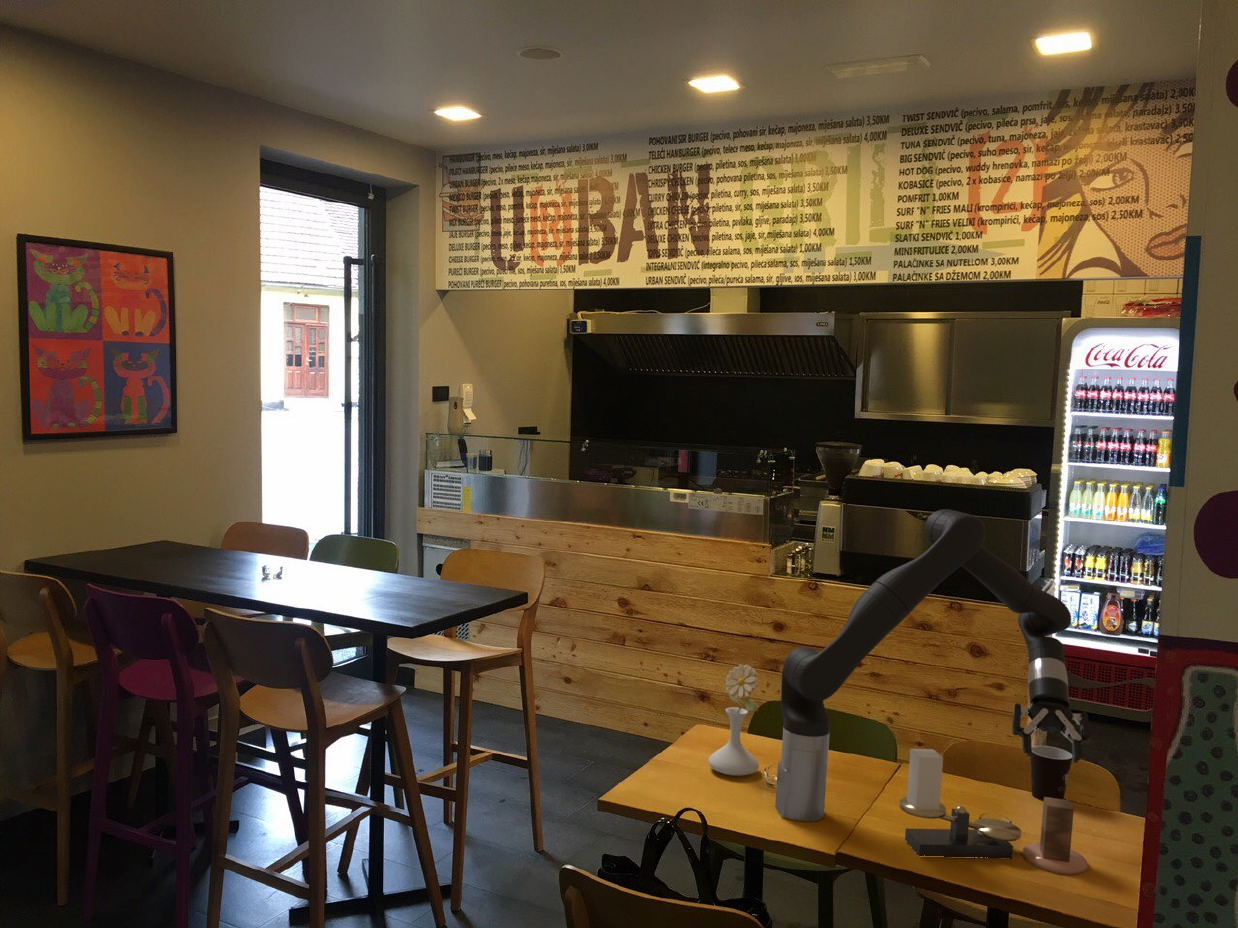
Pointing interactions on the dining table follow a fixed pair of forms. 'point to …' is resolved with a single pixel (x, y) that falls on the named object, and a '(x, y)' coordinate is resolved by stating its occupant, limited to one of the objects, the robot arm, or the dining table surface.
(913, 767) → the pale block
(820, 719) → the robot arm
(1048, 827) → the walnut block
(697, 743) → the dining table surface
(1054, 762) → the coffee mug
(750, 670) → the flower in vase
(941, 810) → the balance
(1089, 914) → the dining table surface
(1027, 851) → the saucer
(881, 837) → the dining table surface
